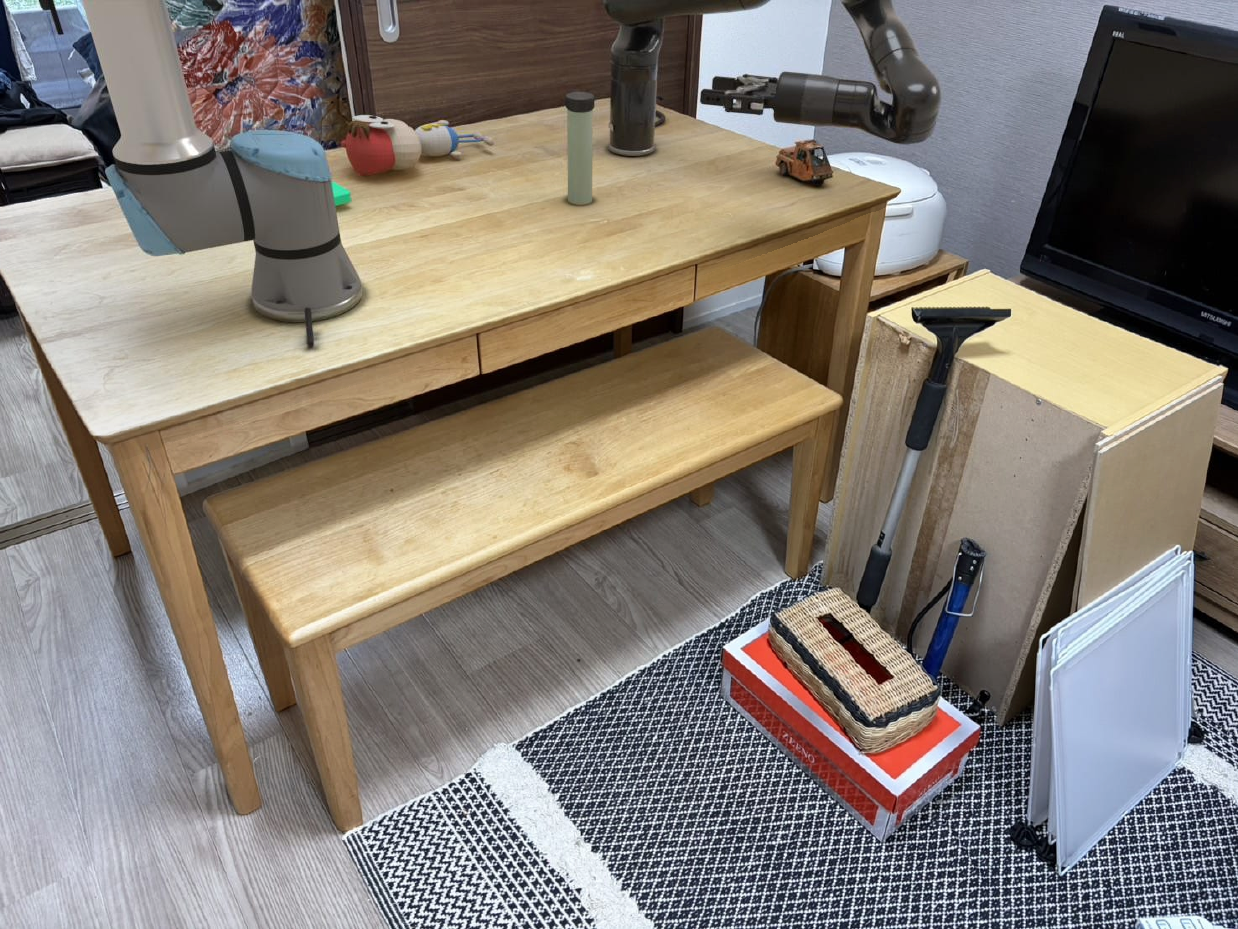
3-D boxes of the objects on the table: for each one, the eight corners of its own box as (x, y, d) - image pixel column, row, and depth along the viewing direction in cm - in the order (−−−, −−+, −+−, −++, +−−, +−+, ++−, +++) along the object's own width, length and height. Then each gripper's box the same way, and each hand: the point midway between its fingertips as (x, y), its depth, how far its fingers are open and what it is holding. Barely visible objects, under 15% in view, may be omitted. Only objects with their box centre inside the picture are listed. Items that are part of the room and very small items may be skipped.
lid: (585, 101, 161) (585, 90, 160) (599, 109, 158) (599, 97, 157) (560, 105, 159) (560, 93, 158) (574, 113, 156) (574, 101, 154)
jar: (584, 194, 171) (584, 93, 160) (596, 202, 168) (597, 99, 157) (563, 198, 169) (562, 96, 158) (575, 206, 166) (575, 103, 155)
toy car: (791, 165, 186) (796, 130, 181) (837, 182, 178) (843, 146, 174) (769, 171, 182) (773, 136, 178) (815, 189, 175) (821, 153, 171)
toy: (509, 121, 178) (356, 125, 163) (508, 175, 183) (360, 183, 168) (469, 106, 192) (324, 108, 177) (469, 157, 197) (328, 162, 181)
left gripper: (151, -134, 141) (187, 17, 154) (-38, -132, 131) (17, 30, 144) (159, -130, 136) (195, 26, 149) (-37, -127, 126) (20, 41, 138)
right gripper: (797, 136, 142) (694, 125, 146) (810, 112, 153) (714, 102, 157) (803, 85, 138) (698, 75, 142) (816, 64, 149) (718, 55, 153)
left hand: (108, 29), depth 146 cm, fingers open, 13 cm apart
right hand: (706, 89), depth 149 cm, fingers open, 8 cm apart
